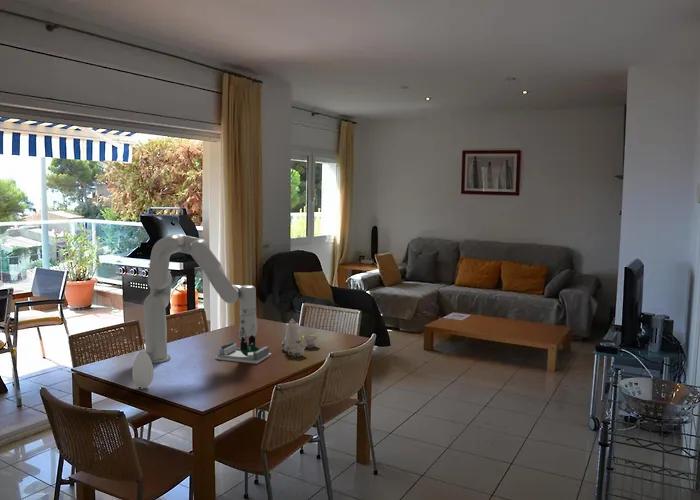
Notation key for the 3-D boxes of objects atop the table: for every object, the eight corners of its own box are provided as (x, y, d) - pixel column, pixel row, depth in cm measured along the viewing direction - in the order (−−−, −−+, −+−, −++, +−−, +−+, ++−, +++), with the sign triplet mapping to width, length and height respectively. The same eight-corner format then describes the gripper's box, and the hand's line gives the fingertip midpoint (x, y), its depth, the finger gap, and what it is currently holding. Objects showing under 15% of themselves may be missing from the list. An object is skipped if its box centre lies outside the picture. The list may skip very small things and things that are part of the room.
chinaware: (304, 362, 268) (307, 328, 266) (271, 356, 271) (274, 323, 269) (319, 347, 295) (323, 316, 293) (289, 342, 298) (293, 311, 296)
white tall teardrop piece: (129, 388, 224) (128, 344, 222) (147, 383, 230) (146, 340, 228) (138, 393, 219) (137, 348, 217) (157, 388, 224) (156, 344, 223)
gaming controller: (258, 355, 271) (252, 345, 273) (261, 351, 269) (255, 340, 271) (243, 359, 264) (237, 349, 266) (246, 354, 262) (240, 344, 264)
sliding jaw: (224, 356, 266) (224, 347, 266) (219, 355, 267) (219, 346, 266) (236, 349, 277) (236, 341, 277) (232, 349, 278) (232, 340, 278)
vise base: (256, 363, 259) (256, 354, 259) (215, 358, 266) (215, 349, 265) (271, 355, 273) (271, 346, 273) (231, 350, 280) (231, 342, 280)
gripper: (246, 315, 257) (246, 353, 259) (263, 308, 274) (263, 344, 276) (231, 314, 260) (231, 351, 261) (249, 307, 276) (249, 342, 278)
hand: (248, 347), depth 268 cm, fingers closed on gaming controller, 7 cm apart
